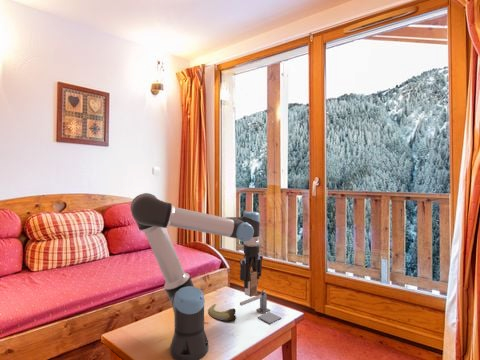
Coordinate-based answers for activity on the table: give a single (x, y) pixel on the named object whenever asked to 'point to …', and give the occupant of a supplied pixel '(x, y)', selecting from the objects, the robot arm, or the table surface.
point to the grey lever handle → (263, 302)
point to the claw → (222, 314)
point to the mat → (269, 317)
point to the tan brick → (252, 283)
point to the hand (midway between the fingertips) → (250, 293)
